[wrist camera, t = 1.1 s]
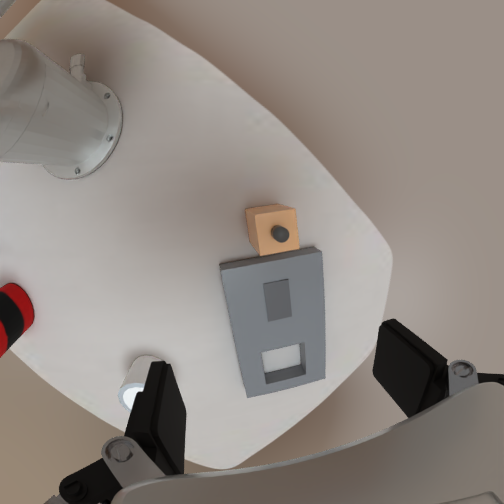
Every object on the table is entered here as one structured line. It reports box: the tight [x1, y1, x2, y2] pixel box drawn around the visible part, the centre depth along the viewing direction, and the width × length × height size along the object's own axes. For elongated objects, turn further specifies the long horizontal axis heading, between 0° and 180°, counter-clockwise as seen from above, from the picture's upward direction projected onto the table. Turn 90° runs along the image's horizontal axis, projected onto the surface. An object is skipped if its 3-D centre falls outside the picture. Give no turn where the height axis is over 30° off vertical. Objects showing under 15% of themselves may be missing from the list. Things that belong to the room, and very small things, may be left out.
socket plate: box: [220, 247, 325, 398], centre depth 34 cm, size 20×12×3 cm, turn 8°
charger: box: [245, 204, 300, 256], centre depth 28 cm, size 4×4×8 cm
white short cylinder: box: [118, 355, 162, 413], centre depth 31 cm, size 7×7×7 cm
